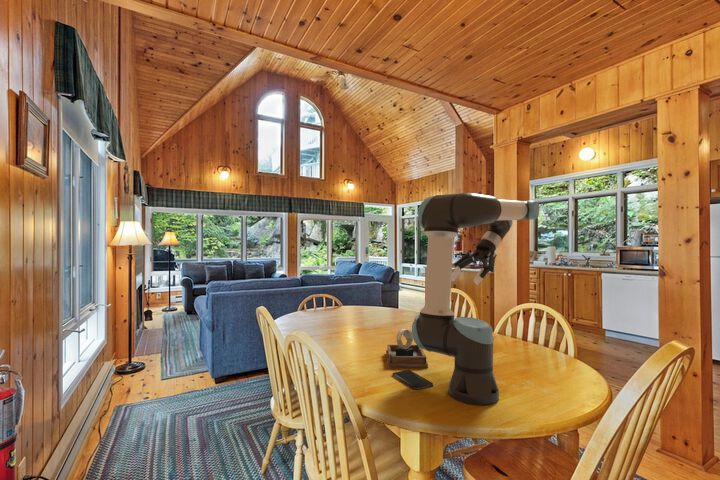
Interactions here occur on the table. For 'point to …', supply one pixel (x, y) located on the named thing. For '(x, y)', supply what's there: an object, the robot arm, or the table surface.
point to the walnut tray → (406, 358)
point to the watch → (405, 349)
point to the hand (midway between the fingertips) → (462, 281)
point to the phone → (412, 380)
